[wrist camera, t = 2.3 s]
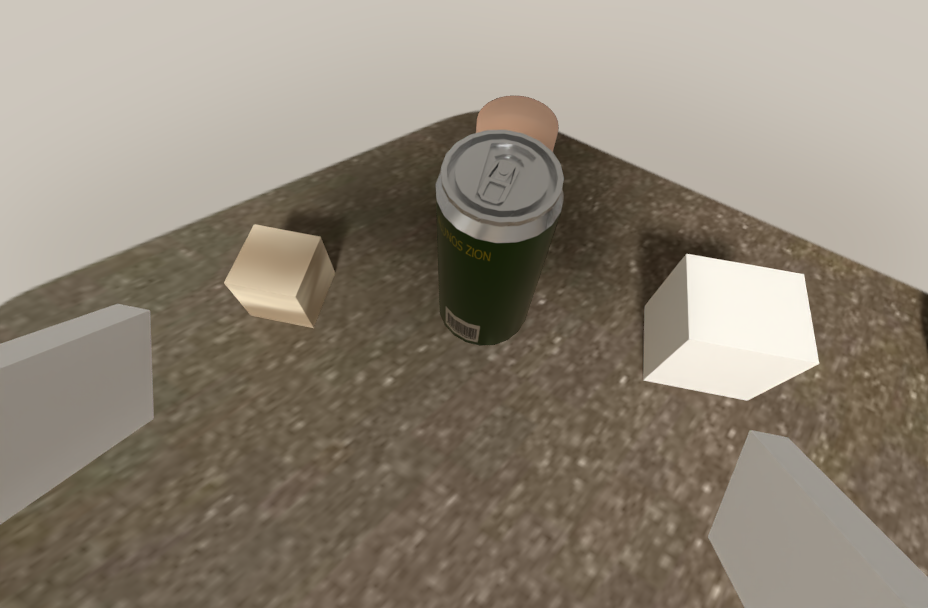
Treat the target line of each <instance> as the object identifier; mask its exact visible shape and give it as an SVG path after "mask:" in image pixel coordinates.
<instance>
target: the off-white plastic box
mask: <svg viewBox="0 0 928 608" xmlns="http://www.w3.org/2000/svg"><path fill="white" fill-rule="evenodd" d="M818 364H819V360H818V354H817V348H816V342H815V337H814V331H813V325H812V319H811V313H810V307H809V302H808V296H807V290H806V284H805V278H804V274H799V273H793V272H788V271H782V270H776V269H771V268H765V267H759V266H754V265H748V264H742V263H737V262H731V261H725V260H720V259H714V258H708V257H703V256H697V255H691V254H686V255H685V256H684V257H683V258H682V260H681V261H680V262H679V263H678V265H677V266H676V267H675V268H674V270H673V271H672V272H671V273H670V275H669V276H668V277H667V279H666V280H665V281H664V282H663V284H662V285H661V286H660V287H659V289H658V290H657V291H656V292H655V294H654V295H653V296H652V297H651V299H650V300H649V301H648V302H647V304H646V305H645V306H644V360H643V380H645V381H650V382H655V383H660V384H665V385H670V386H676V387H681V388H686V389H691V390H696V391H701V392H706V393H711V394H717V395H722V396H727V397H732V398H737V399H742V400H747V401H748V400H749V399H751V398H753V397H755V396H757V395H759V394H761V393H763V392H765V391H767V390H769V389H771V388H773V387H775V386H777V385H779V384H781V383H783V382H785V381H786V380H788V379H790V378H792V377H794V376H796V375H798V374H800V373H802V372H804V371H806V370H808V369H810V368H812V367H814V366H816V365H818Z"/></svg>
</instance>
